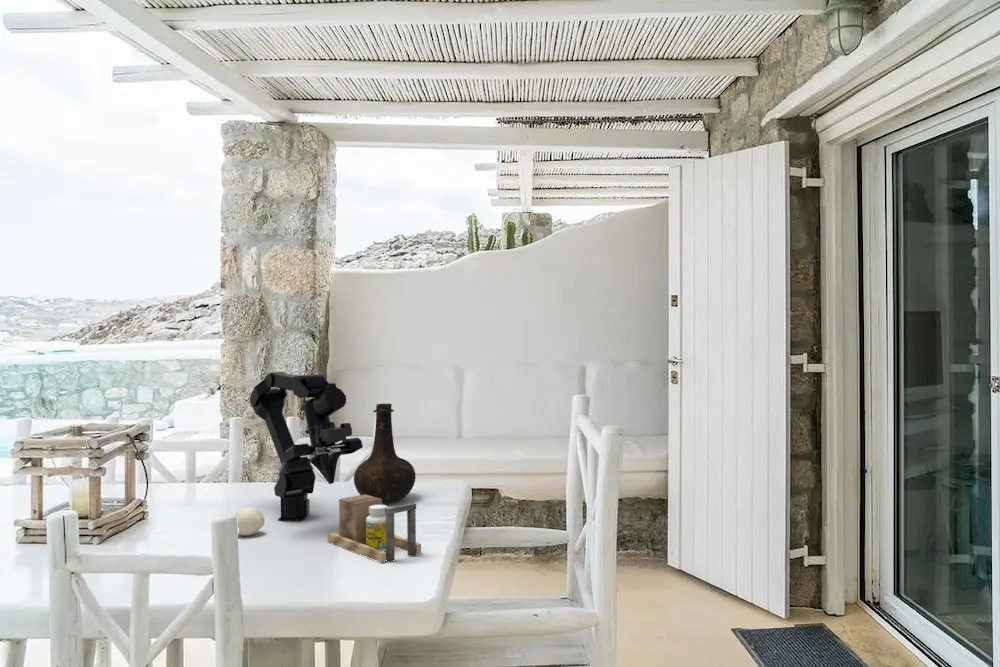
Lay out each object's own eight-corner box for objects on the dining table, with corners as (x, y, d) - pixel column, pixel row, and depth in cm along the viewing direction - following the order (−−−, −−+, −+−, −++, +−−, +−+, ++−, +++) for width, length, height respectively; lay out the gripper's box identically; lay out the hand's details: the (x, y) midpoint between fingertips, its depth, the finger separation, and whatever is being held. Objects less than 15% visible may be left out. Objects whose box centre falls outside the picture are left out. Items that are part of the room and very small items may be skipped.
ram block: (339, 542, 168) (339, 499, 168) (365, 536, 172) (365, 494, 172) (356, 548, 162) (355, 504, 162) (382, 542, 167) (381, 499, 167)
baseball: (262, 537, 172) (262, 509, 172) (230, 539, 171) (230, 511, 171) (266, 530, 179) (266, 503, 179) (234, 532, 177) (234, 504, 177)
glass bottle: (388, 510, 199) (387, 407, 199) (340, 502, 208) (339, 405, 208) (428, 497, 214) (427, 402, 214) (381, 491, 223) (381, 400, 223)
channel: (327, 542, 168) (327, 494, 168) (365, 533, 175) (365, 487, 175) (383, 564, 152) (382, 511, 152) (423, 553, 159) (422, 503, 159)
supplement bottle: (394, 547, 164) (394, 504, 164) (383, 554, 159) (383, 510, 159) (373, 545, 166) (372, 503, 166) (361, 551, 160) (361, 508, 160)
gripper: (298, 415, 169) (312, 480, 165) (366, 409, 182) (381, 469, 178) (278, 429, 177) (290, 492, 172) (345, 422, 190) (358, 481, 185)
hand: (331, 483), depth 177 cm, fingers closed
